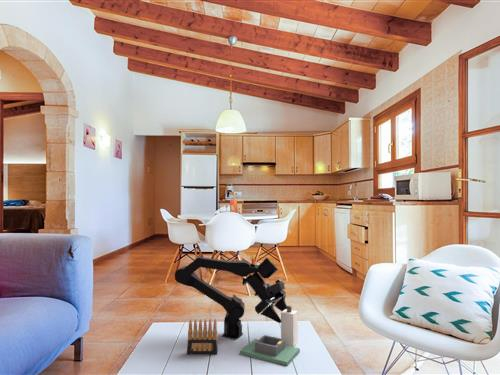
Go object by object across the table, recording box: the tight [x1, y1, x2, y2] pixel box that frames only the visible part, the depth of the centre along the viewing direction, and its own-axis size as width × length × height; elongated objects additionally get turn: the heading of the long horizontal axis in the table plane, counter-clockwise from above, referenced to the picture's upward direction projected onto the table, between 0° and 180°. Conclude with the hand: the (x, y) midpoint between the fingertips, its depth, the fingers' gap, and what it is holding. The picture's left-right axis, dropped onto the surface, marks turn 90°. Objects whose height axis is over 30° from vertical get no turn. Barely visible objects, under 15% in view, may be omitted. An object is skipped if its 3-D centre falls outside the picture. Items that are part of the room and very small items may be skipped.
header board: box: [239, 334, 301, 367], centre depth 118 cm, size 18×12×4 cm, turn 62°
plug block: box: [280, 305, 298, 347], centre depth 126 cm, size 5×4×14 cm
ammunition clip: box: [186, 318, 218, 356], centre depth 117 cm, size 11×2×12 cm, turn 90°
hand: (285, 318), depth 127 cm, fingers open, 9 cm apart
